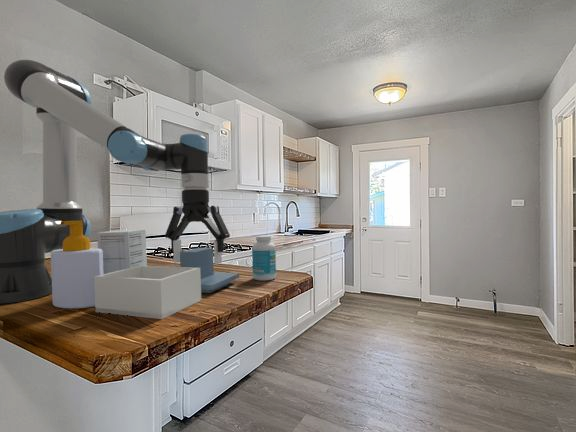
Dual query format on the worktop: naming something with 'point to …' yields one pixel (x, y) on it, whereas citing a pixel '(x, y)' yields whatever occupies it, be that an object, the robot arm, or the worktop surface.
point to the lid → (206, 269)
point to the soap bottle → (75, 270)
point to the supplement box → (122, 249)
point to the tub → (147, 291)
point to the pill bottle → (264, 259)
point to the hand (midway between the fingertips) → (197, 262)
